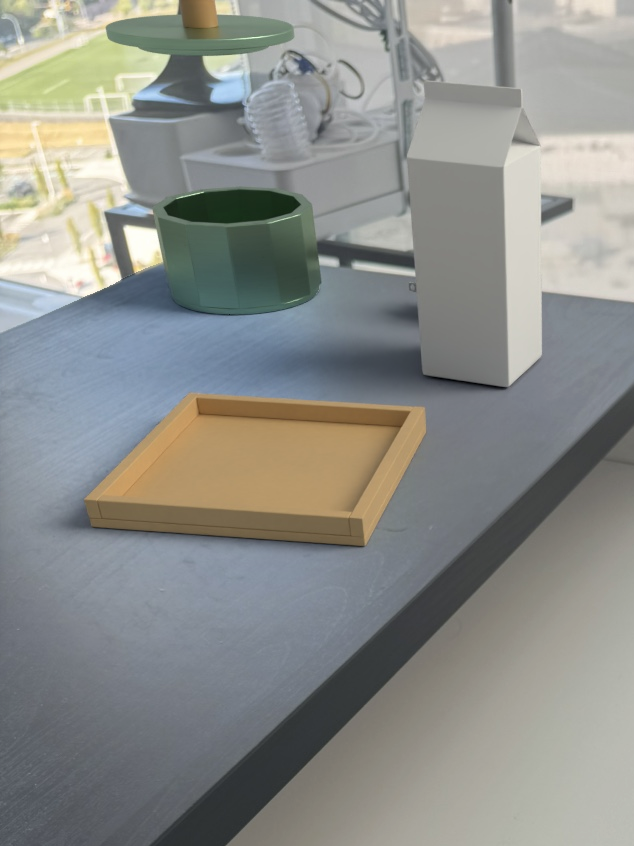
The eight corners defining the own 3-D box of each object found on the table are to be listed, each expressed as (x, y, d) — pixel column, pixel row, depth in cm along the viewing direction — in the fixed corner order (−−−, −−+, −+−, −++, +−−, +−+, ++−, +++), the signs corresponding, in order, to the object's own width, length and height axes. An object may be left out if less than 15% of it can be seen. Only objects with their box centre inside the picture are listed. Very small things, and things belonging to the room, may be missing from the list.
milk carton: (509, 390, 87) (501, 97, 75) (422, 377, 88) (401, 88, 76) (542, 358, 92) (540, 80, 80) (459, 346, 94) (445, 72, 81)
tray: (91, 527, 69) (83, 499, 68) (194, 417, 82) (189, 392, 81) (365, 546, 68) (362, 518, 67) (426, 432, 81) (424, 406, 79)
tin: (148, 310, 99) (128, 221, 94) (202, 266, 109) (187, 183, 104) (295, 318, 98) (282, 229, 94) (336, 273, 108) (327, 190, 103)
